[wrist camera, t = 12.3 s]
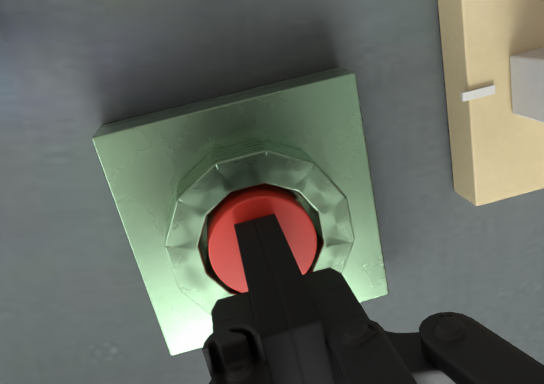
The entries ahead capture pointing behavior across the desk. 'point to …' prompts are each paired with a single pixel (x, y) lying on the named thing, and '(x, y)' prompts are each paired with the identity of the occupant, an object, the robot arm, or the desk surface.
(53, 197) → the desk surface
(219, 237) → the stop button
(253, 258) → the robot arm
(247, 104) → the control block
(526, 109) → the tap handle
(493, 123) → the panel
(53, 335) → the desk surface
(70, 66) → the desk surface
